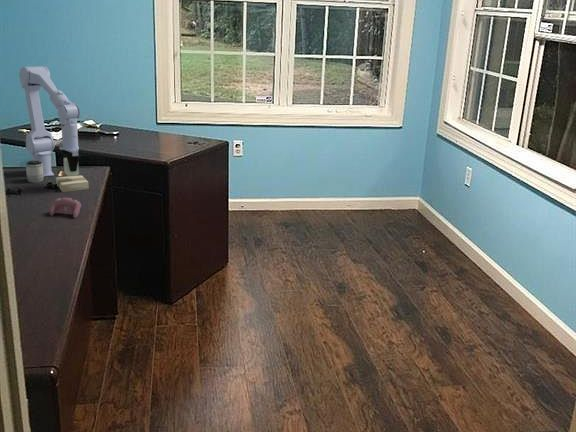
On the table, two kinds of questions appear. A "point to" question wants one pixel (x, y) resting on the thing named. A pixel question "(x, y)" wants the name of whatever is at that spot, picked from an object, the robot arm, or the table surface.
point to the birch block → (72, 183)
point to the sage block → (67, 169)
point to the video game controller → (62, 202)
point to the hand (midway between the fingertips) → (71, 169)
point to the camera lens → (34, 171)
